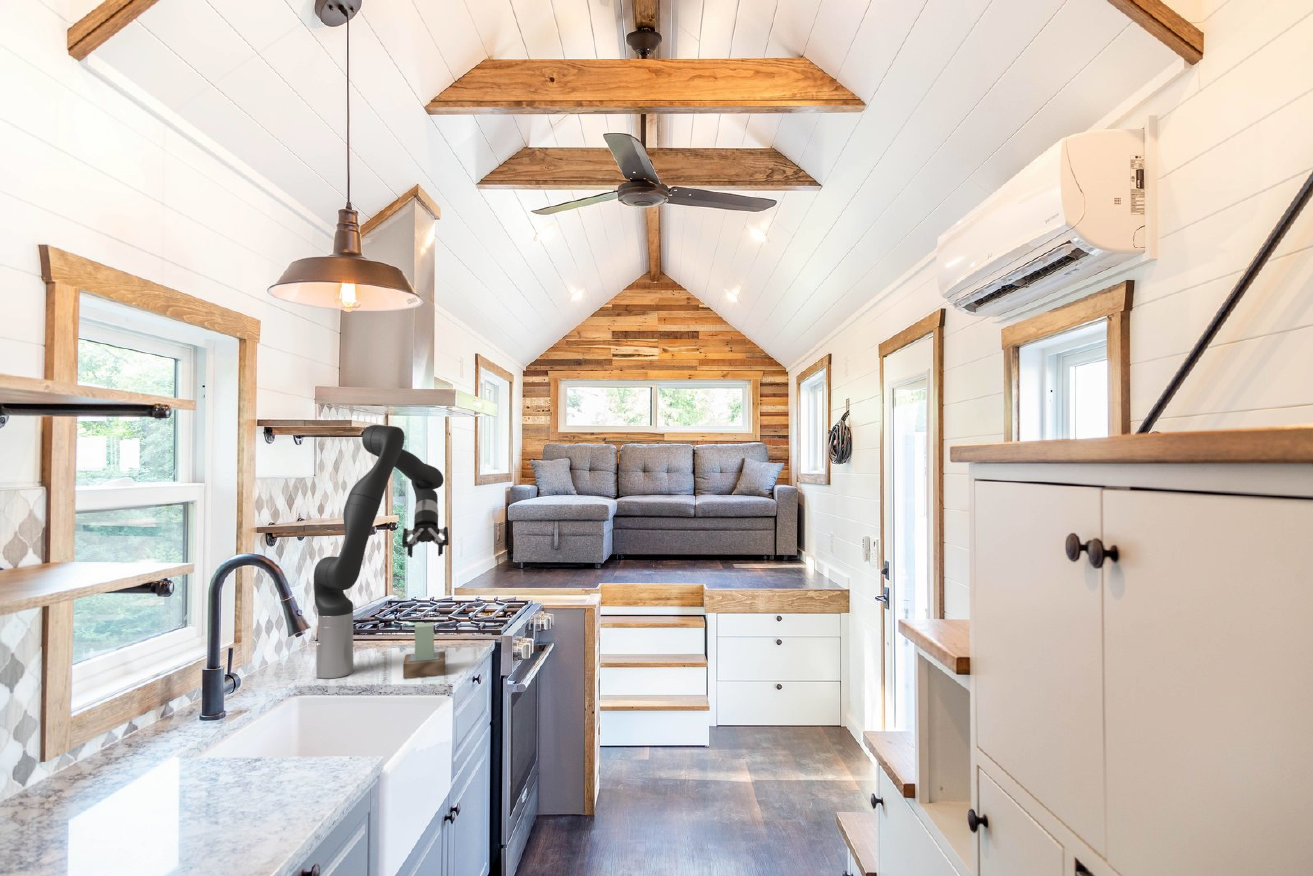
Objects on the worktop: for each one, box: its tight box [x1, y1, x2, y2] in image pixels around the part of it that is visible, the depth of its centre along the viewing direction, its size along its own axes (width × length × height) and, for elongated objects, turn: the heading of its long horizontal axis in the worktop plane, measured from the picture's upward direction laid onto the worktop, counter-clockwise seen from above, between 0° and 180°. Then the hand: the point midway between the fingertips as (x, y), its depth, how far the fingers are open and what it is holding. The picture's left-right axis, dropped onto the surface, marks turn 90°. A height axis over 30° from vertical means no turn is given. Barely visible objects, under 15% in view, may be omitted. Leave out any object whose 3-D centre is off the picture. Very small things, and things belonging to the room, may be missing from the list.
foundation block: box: [402, 650, 446, 679], centre depth 204 cm, size 11×11×4 cm
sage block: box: [414, 621, 435, 660], centre depth 205 cm, size 5×5×9 cm
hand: (425, 555), depth 226 cm, fingers open, 8 cm apart
